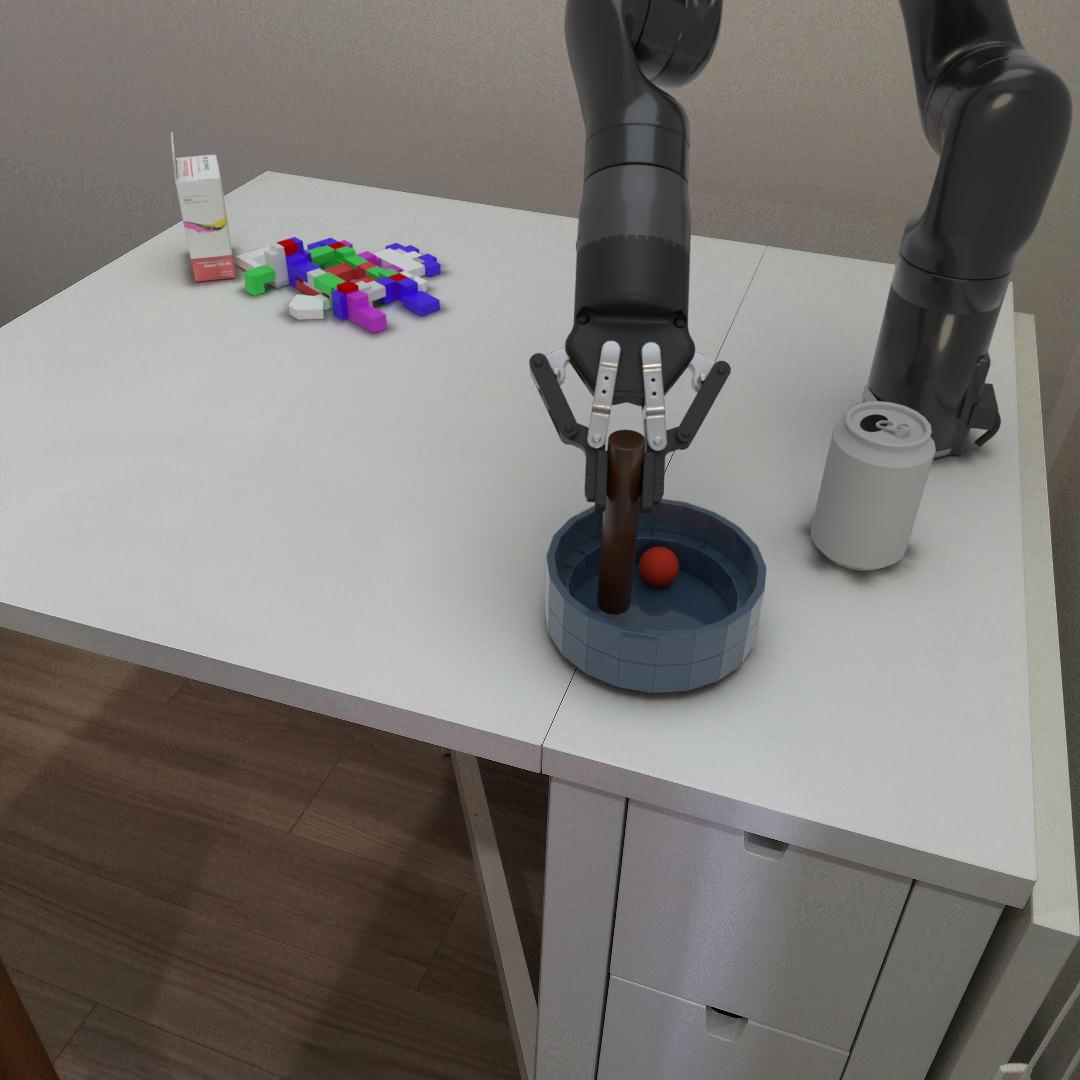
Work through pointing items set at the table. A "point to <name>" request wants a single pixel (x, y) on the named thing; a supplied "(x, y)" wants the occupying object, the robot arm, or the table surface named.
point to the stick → (620, 520)
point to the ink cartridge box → (204, 216)
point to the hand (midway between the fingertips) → (623, 509)
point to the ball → (658, 566)
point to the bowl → (658, 601)
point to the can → (872, 485)
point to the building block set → (343, 279)
